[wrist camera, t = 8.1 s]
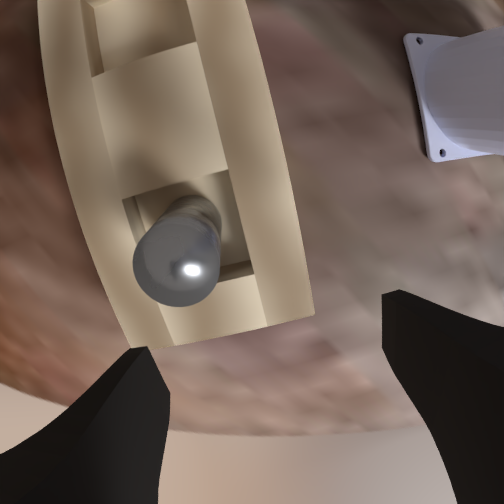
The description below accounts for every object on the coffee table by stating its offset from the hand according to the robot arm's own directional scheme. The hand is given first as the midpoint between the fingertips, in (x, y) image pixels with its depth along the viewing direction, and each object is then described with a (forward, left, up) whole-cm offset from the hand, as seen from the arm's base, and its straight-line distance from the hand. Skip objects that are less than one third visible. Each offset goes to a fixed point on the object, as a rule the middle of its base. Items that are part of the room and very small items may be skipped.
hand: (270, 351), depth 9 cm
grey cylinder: (+3, -2, -8) cm, 9 cm away
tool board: (+3, -8, -9) cm, 12 cm away
